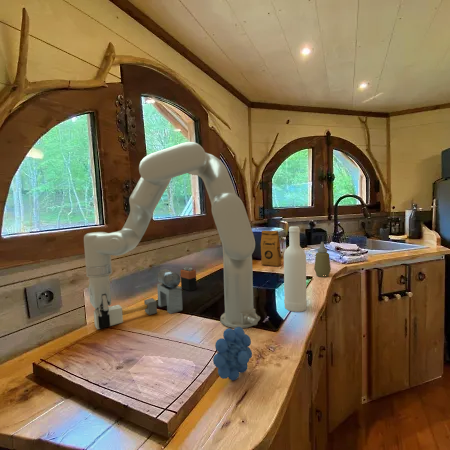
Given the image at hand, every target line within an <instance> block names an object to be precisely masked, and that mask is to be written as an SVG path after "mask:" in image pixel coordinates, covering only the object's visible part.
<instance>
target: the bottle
mask: <svg viewBox="0 0 450 450" xmlns="http://www.w3.org/2000/svg"><path fill="white" fill-rule="evenodd" d="M288 232H289V233H288V236H289V237H288V240H289V242H288V243H289V244H288V245H289V246H287V248H286V249H284V253H283V275H284V276H283V282H284V283H283V284H284V285H283V286H284V287H283V289H284V292H283V293H284V300H283V302H284V303H283V304H284V308H285V309H286V310H287V311H288V312H289V311H290V312H294V313H300V312H305V311H306V310H307V304H308V303H307V302H308V300H307V254H306V251H305V250H304V249H303V247H301V245H300V244H301V243H300V242H301V240H300V234H301V233H300V232H301V230H300V227H299V226H297V225H296V226H289V228H288Z"/></svg>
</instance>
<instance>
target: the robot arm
mask: <svg viewBox="0 0 450 450" xmlns="http://www.w3.org/2000/svg"><path fill="white" fill-rule="evenodd" d="M138 171H139V175H140V178H139V179H138V181H137V184H136V185H135V188H134V189H133V190H132V192H131V193H130V196H129V199H128V202H129V203H128V204H129V210H130V211H129V214H128V217H127V219H126V221H125V223H124V225H123V227H122V228H121V230H117V231H112V232H105V231H96V232H95V231H94V232H88V233H86V234H84V235H83V247H84V259H85V260H84V261H85V272H86V274H85V275H86V278H88V286H89V287H88V288H89V290H88V291H89V302H90V304H91V305H92V307H93V308H94V309H95V310H98V309H99V316H98V319H99V328H100V329H99V330H102V329H104V328H108V326H109V327H111V326H110V317H109V308H108V307H111V304H112V292H111V283H110V282H111V281H110V275H112V274H113V269H112V256H114V257H115V256H122V255H125V254H127V253H128V252H131V251H132V250H134V249H135V248H137V246H138V244H139V243H140V242H141V240H142V239H143V236H144V235H145V233H146V231H147V228H148V227H149V224H150V222H151V220H152V217H153V215H154V212H155V210H156V207H157V206H158V204H159V203H160V201H161V199H162V197H163V195H164V193H165V192H166V189H167V188H168V186H169V184H170V183H171V180H172V179H173V178H175V177H176V178H177V177H179V176H182V175H185V174H188V175H192V176H198V177H199V178H201V180H202V181H203V183H204V187H205V190H206V191H207V195H208V198H209V201H210V204H211V215H212V217H213V221H214V223H215V226H216V229H217V233H218V235H219V239H220V242H221V244H222V259H223V260H222V261H223V265H222V266H223V289H224V290H223V294H224V312H223V313H222V314H221V316H220V322H221V324H222V325H223V326H225V327H227V328H231V329H235V328H236V327H241V328H242V329H247V328H251V327H253V326H257V325H258V322H259V321H260V320H261V316H260V315H258V314H257V313H256V308H254V284H253V283H254V282H253V281H254V279H253V277H254V275H253V274H254V273H253V256H252V255H253V253H254V251H255V249H256V241H255V239H256V238H255V235H254V232H253V229H252V226H251V223H250V220H249V219H250V218H249V217H248V214H247V210H246V207H245V205H244V203H243V201H242V199H241V198H240V197H239V195H237V194H236V191H235V188H234V184H233V182H232V179H231V177H230V174H229V171H228V168H227V167H226V165H225V164H224V163H223V162H222V160H221V159H220V158H218V157H217V156H215V155H213V154H212V153H208V152H206V151H205V149H204V148H203V147H202V146H201V144H199V143H197V142H196V141H195V142H194V141H186V142H182V143H179V144H175V145H173V146H170V147H167V148H164V149H160V150H158V151H155V152H152V153H149V154H147V155H146V156H144V157H143V158H142V159H141V160H140V162H139V165H138ZM102 308H103V310H102V311H101V309H102Z"/></svg>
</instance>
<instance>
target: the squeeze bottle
mask: <svg viewBox="0 0 450 450" xmlns="http://www.w3.org/2000/svg"><path fill="white" fill-rule="evenodd" d="M330 259H331V258H330V253H328V248H326V246H325V243H324V241H321V242H320V245H319V247H318V248H317V252H316V253H315V259H314V268H313V269H314V272H315V274H316V276H317V277H319V278H320V277H321V278H329V275H330V272H331V270H332V269H331V268H332V267H331V260H330ZM323 275H324V276H323ZM325 275H326V276H325Z"/></svg>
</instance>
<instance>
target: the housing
mask: <svg viewBox="0 0 450 450" xmlns="http://www.w3.org/2000/svg"><path fill="white" fill-rule="evenodd" d="M157 280H158V283H156V284H157V285H156V288H157V289H156V291H157V305H158V306H157V307H160V308H163V307H166V310H167V311H166V312H167V313H168V314H170V315H172V314H176V313H178V312H182V311H183V289H182V287H181V285H180V284H181V275H179V273H176V272H174V271H171V270H169V269H166V268H163V269H161V270H159V271H158V274H157ZM179 285H180V286H179Z"/></svg>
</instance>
